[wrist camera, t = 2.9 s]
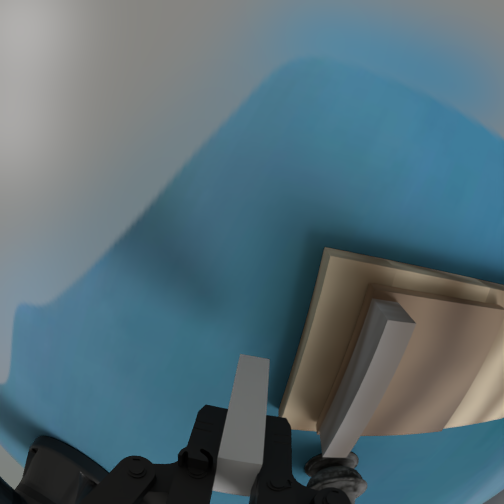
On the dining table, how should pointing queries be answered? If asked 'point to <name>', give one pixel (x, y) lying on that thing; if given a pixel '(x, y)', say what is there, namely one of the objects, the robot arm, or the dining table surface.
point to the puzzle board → (344, 322)
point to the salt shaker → (336, 475)
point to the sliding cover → (406, 365)
